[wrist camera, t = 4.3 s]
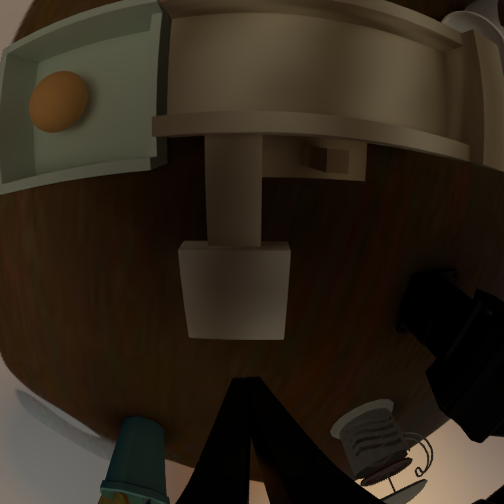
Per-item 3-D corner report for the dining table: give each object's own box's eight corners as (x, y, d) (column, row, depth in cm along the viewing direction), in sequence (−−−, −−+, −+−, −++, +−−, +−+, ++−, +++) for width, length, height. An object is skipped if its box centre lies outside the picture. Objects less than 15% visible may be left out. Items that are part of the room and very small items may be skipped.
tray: (171, 23, 13) (158, -7, 8) (167, 163, 16) (150, 170, 12) (36, 59, 11) (3, 49, 7) (34, 182, 15) (-3, 195, 11)
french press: (331, 414, 29) (392, 581, 6) (410, 384, 29) (490, 521, 6) (328, 445, 32) (372, 577, 9) (396, 420, 33) (454, 536, 10)
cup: (151, 388, 24) (132, 526, 10) (209, 419, 26) (215, 540, 12) (97, 425, 26) (76, 519, 12) (144, 449, 29) (137, 539, 15)
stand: (358, 27, 13) (394, 3, 9) (359, 179, 18) (399, 193, 13) (247, 9, 13) (257, -28, 8) (246, 175, 17) (256, 187, 13)
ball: (25, 84, 10) (75, 80, 13) (23, 141, 12) (73, 132, 15) (40, 62, 8) (100, 62, 11) (35, 131, 10) (97, 123, 13)
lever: (455, 55, 9) (497, 45, 6) (428, 308, 16) (457, 343, 12) (178, 14, 9) (154, -22, 6) (187, 316, 16) (171, 362, 12)
